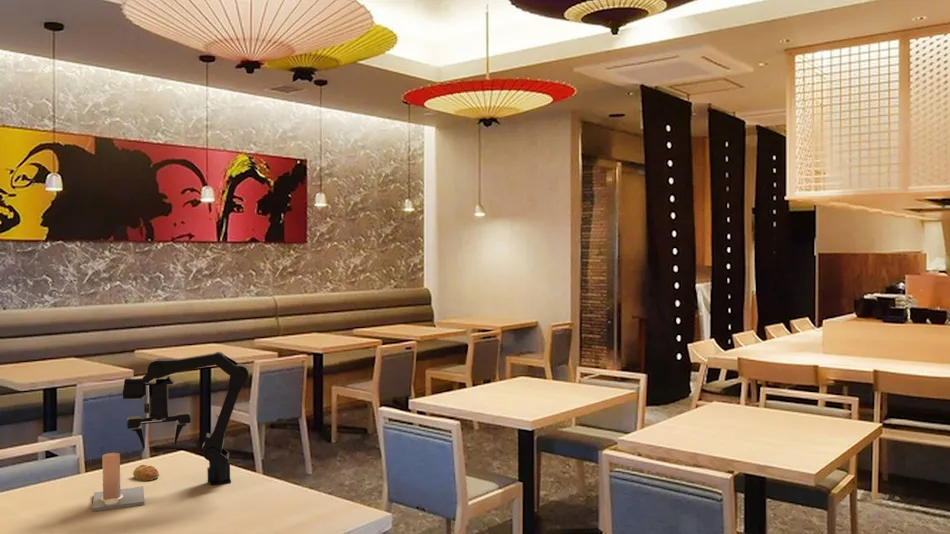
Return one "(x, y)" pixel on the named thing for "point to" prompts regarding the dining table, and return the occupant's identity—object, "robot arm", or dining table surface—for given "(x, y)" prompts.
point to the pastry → (145, 472)
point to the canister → (111, 476)
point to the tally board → (119, 499)
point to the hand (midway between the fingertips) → (159, 446)
